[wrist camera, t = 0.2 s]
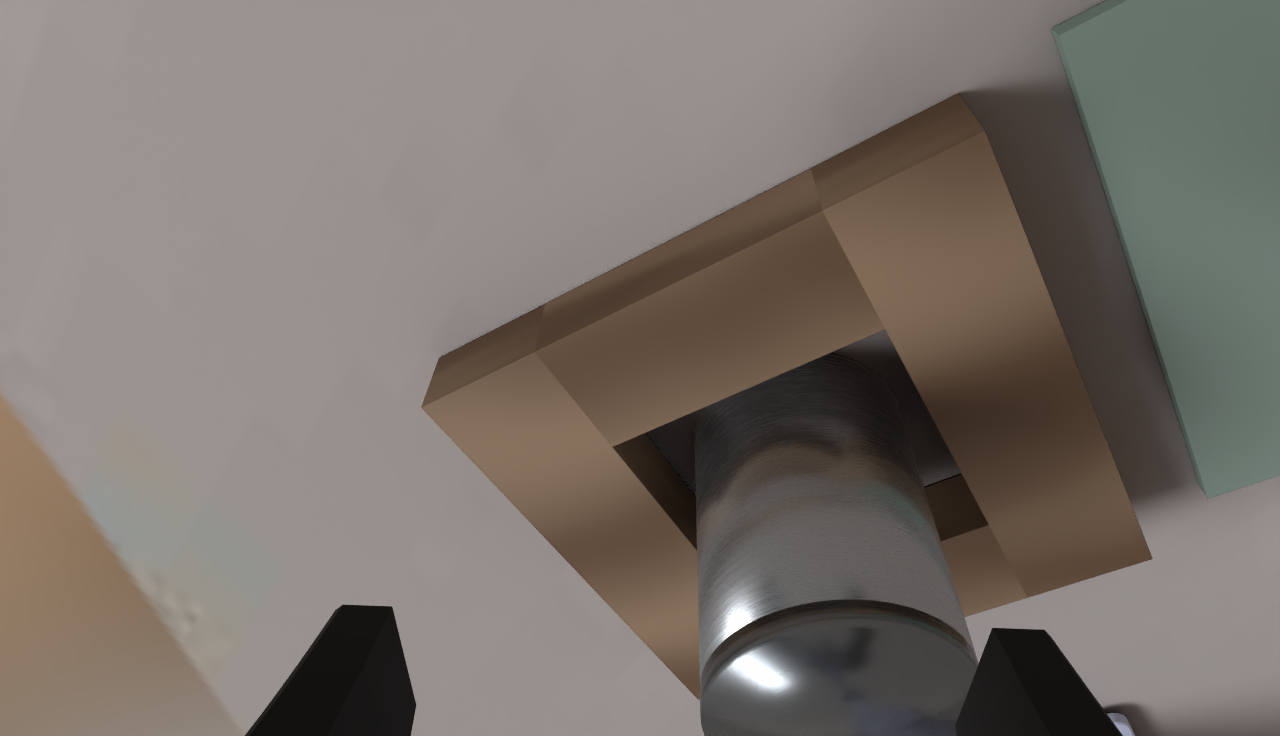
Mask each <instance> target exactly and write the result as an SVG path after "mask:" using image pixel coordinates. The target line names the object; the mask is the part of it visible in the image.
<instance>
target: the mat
mask: <svg viewBox="0 0 1280 736" xmlns="http://www.w3.org/2000/svg"><path fill="white" fill-rule="evenodd" d="M1052 31H1053V34H1054V37H1055V41H1056V44H1057V47H1058V50H1059V53H1060V56H1061V59H1062V62H1063V65H1064V68H1065V71H1066V74H1067V78H1068V81H1069V84H1070V87H1071V90H1072V93H1073V96H1074V99H1075V102H1076V105H1077V108H1078V111H1079V115H1080V118H1081V121H1082V124H1083V127H1084V130H1085V133H1086V136H1087V139H1088V142H1089V145H1090V148H1091V152H1092V155H1093V158H1094V161H1095V164H1096V167H1097V170H1098V173H1099V176H1100V179H1101V182H1102V186H1103V189H1104V192H1105V195H1106V198H1107V201H1108V204H1109V207H1110V210H1111V213H1112V216H1113V219H1114V223H1115V226H1116V229H1117V232H1118V235H1119V238H1120V241H1121V244H1122V247H1123V250H1124V253H1125V256H1126V260H1127V263H1128V266H1129V269H1130V272H1131V275H1132V278H1133V281H1134V284H1135V287H1136V290H1137V293H1138V297H1139V300H1140V303H1141V306H1142V309H1143V312H1144V315H1145V318H1146V321H1147V324H1148V327H1149V330H1150V334H1151V337H1152V340H1153V343H1154V346H1155V349H1156V352H1157V355H1158V358H1159V361H1160V364H1161V367H1162V371H1163V374H1164V377H1165V380H1166V383H1167V386H1168V389H1169V392H1170V395H1171V398H1172V401H1173V404H1174V408H1175V411H1176V414H1177V417H1178V420H1179V423H1180V426H1181V429H1182V432H1183V435H1184V438H1185V441H1186V445H1187V448H1188V451H1189V454H1190V457H1191V460H1192V463H1193V466H1194V469H1195V472H1196V475H1197V478H1198V482H1199V485H1200V487H1201V489H1202V491H1203V492H1204V494H1205V495H1206V497H1207V498H1212V497H1215V496H1218V495H1221V494H1224V493H1227V492H1230V491H1233V490H1236V489H1239V488H1242V487H1245V486H1248V485H1252V484H1255V483H1258V482H1261V481H1264V480H1267V479H1270V478H1273V477H1276V476H1279V475H1280V0H1106V1H1104V2H1102V3H1100V4H1098V5H1096V6H1094V7H1092V8H1090V9H1088V10H1087V11H1085V12H1083V13H1081V14H1079V15H1077V16H1075V17H1073V18H1071V19H1069V20H1067V21H1065V22H1063V23H1061V24H1059V25H1057V26H1056V27H1054V28H1052Z"/></svg>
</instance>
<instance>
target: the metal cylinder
mask: <svg viewBox="0 0 1280 736" xmlns="http://www.w3.org/2000/svg"><path fill="white" fill-rule="evenodd" d="M694 434H695V480H696V526H697V572H698V618H699V664H700V710H701V725H702V729H703V732H704V735H705V736H957V734H956V728H955V725H956V722H957V720H958V717H959V714H960V712H961V709H962V707H963V704H964V701H965V699H966V696H967V693H968V691H969V688H970V686H971V683H972V680H973V678H974V675H975V672H976V670H977V667H978V665H979V664H978V660H977V657H976V654H975V651H974V647H973V644H972V641H971V638H970V634H969V631H968V628H967V625H966V621H965V618H964V615H963V612H962V608H961V605H960V602H959V599H958V595H957V592H956V589H955V586H954V583H953V579H952V576H951V573H950V570H949V566H948V563H947V560H946V557H945V553H944V550H943V547H942V544H941V540H940V537H939V534H938V531H937V527H936V524H935V521H934V518H933V514H932V511H931V508H930V505H929V501H928V498H927V495H926V492H925V488H924V485H923V482H922V479H921V475H920V472H919V469H918V466H917V462H916V459H915V456H914V453H913V449H912V446H911V443H910V440H909V436H908V433H907V430H906V427H905V423H904V420H903V417H902V414H901V411H900V407H899V404H898V402H897V400H896V397H895V395H894V393H893V392H892V390H891V389H890V387H889V386H888V385H887V384H886V382H885V381H884V380H883V379H882V378H881V377H880V376H879V375H877V374H876V373H875V372H873V371H872V370H871V369H869V368H868V367H866V366H864V365H862V364H861V363H859V362H856V361H854V360H852V359H849V358H846V357H843V356H839V355H836V354H831V353H829V354H826V355H824V356H822V357H819V358H817V359H815V360H812V361H810V362H808V363H805V364H803V365H801V366H799V367H796V368H794V369H792V370H789V371H787V372H785V373H782V374H780V375H778V376H775V377H773V378H771V379H768V380H766V381H764V382H762V383H759V384H757V385H755V386H752V387H750V388H748V389H745V390H743V391H741V392H738V393H736V394H734V395H731V396H729V397H727V398H725V399H722V400H720V401H718V402H715V403H713V404H711V405H708V406H706V407H704V408H701V409H700V411H699V413H698V416H697V420H696V424H695V433H694Z"/></svg>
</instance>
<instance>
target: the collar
mask: <svg viewBox="0 0 1280 736" xmlns="http://www.w3.org/2000/svg"><path fill="white" fill-rule="evenodd" d="M884 329H885V330H886V332H887V333H888V335H889V337H890V339H891V341H892V343H893V345H894V347H895V349H896V350H897V352H898V354H899V356H900V358H901V360H902V362H903V364H904V366H905V367H906V369H907V371H908V373H909V375H910V377H911V379H912V381H913V383H914V384H915V386H916V388H917V390H918V392H919V394H920V396H921V398H922V400H923V401H924V403H925V405H926V407H927V409H928V411H929V413H930V415H931V417H932V418H933V420H934V422H935V424H936V426H937V428H938V430H939V432H940V434H941V435H942V437H943V439H944V441H945V443H946V445H947V447H948V449H949V451H950V452H951V454H952V456H953V458H954V460H955V462H956V464H957V466H958V468H959V469H960V471H961V473H962V474H961V475H959V476H956V477H953V478H950V479H948V480H945V481H942V482H939V483H937V484H934V485H931V486H928V487H926V488H925V492H926V495H927V498H928V501H929V505H930V508H931V511H932V514H933V518H934V521H935V524H936V527H937V531H938V534H939V537H940V540H941V544H942V547H943V550H944V553H945V557H946V560H947V563H948V566H949V570H950V573H951V576H952V579H953V583H954V586H955V589H956V592H957V595H958V599H959V602H960V605H961V608H962V612H963V615H964V617H967V616H970V615H973V614H976V613H980V612H983V611H986V610H989V609H992V608H996V607H999V606H1002V605H1005V604H1009V603H1012V602H1015V601H1018V600H1022V599H1025V598H1028V597H1031V596H1034V595H1038V594H1041V593H1044V592H1047V591H1051V590H1054V589H1057V588H1060V587H1063V586H1067V585H1070V584H1073V583H1076V582H1080V581H1083V580H1086V579H1089V578H1093V577H1096V576H1099V575H1102V574H1105V573H1109V572H1112V571H1115V570H1118V569H1122V568H1125V567H1128V566H1131V565H1134V564H1138V563H1141V562H1144V561H1147V560H1151V559H1153V558H1152V556H1151V553H1150V551H1149V548H1148V546H1147V543H1146V541H1145V538H1144V535H1143V533H1142V530H1141V528H1140V525H1139V523H1138V520H1137V518H1136V515H1135V512H1134V510H1133V507H1132V505H1131V502H1130V500H1129V497H1128V495H1127V492H1126V489H1125V487H1124V484H1123V482H1122V479H1121V477H1120V474H1119V472H1118V469H1117V466H1116V464H1115V461H1114V459H1113V456H1112V454H1111V451H1110V449H1109V446H1108V444H1107V441H1106V438H1105V436H1104V433H1103V431H1102V428H1101V426H1100V423H1099V421H1098V418H1097V415H1096V413H1095V410H1094V408H1093V405H1092V403H1091V400H1090V398H1089V395H1088V392H1087V390H1086V387H1085V385H1084V382H1083V380H1082V377H1081V375H1080V372H1079V369H1078V367H1077V364H1076V362H1075V359H1074V357H1073V354H1072V352H1071V349H1070V346H1069V344H1068V341H1067V339H1066V336H1065V334H1064V331H1063V329H1062V326H1061V323H1060V321H1059V318H1058V316H1057V313H1056V311H1055V308H1054V306H1053V303H1052V300H1051V298H1050V295H1049V293H1048V290H1047V288H1046V285H1045V283H1044V280H1043V277H1042V275H1041V272H1040V270H1039V267H1038V265H1037V262H1036V260H1035V257H1034V254H1033V252H1032V249H1031V247H1030V244H1029V242H1028V239H1027V237H1026V234H1025V231H1024V229H1023V226H1022V224H1021V221H1020V219H1019V216H1018V214H1017V211H1016V208H1015V206H1014V203H1013V201H1012V198H1011V196H1010V193H1009V191H1008V188H1007V185H1006V183H1005V180H1004V178H1003V175H1002V173H1001V170H1000V168H999V165H998V163H997V160H996V157H995V155H994V152H993V150H992V147H991V145H990V142H989V140H988V137H987V134H986V132H985V130H984V129H983V127H982V126H981V124H980V123H979V121H978V120H977V118H976V117H975V116H974V114H973V113H972V111H971V110H970V108H969V107H968V106H967V104H966V103H965V101H964V100H963V98H962V97H961V96H960V94H959V93H958V94H956V95H954V96H952V97H950V98H948V99H946V100H944V101H942V102H940V103H938V104H936V105H934V106H932V107H931V108H929V109H927V110H925V111H923V112H921V113H919V114H917V115H915V116H913V117H911V118H909V119H907V120H905V121H903V122H901V123H899V124H897V125H895V126H893V127H891V128H889V129H887V130H885V131H883V132H882V133H880V134H878V135H876V136H874V137H872V138H870V139H868V140H866V141H864V142H862V143H860V144H858V145H856V146H854V147H852V148H850V149H848V150H846V151H844V152H842V153H840V154H838V155H836V156H834V157H833V158H831V159H829V160H827V161H825V162H823V163H821V164H819V165H817V166H815V167H813V168H811V169H809V170H807V171H805V172H803V173H801V174H799V175H797V176H795V177H793V178H791V179H789V180H787V181H785V182H783V183H782V184H780V185H778V186H776V187H774V188H772V189H770V190H768V191H766V192H764V193H762V194H760V195H758V196H756V197H754V198H752V199H750V200H748V201H746V202H744V203H742V204H740V205H738V206H736V207H734V208H733V209H731V210H729V211H727V212H725V213H723V214H721V215H719V216H717V217H715V218H713V219H711V220H709V221H707V222H705V223H703V224H701V225H699V226H697V227H695V228H693V229H691V230H689V231H687V232H685V233H684V234H682V235H680V236H678V237H676V238H674V239H672V240H670V241H668V242H666V243H664V244H662V245H660V246H658V247H656V248H654V249H652V250H650V251H648V252H646V253H644V254H642V255H640V256H638V257H636V258H635V259H633V260H631V261H629V262H627V263H625V264H623V265H621V266H619V267H617V268H615V269H613V270H611V271H609V272H607V273H605V274H603V275H601V276H599V277H597V278H595V279H593V280H591V281H589V282H587V283H586V284H584V285H582V286H580V287H578V288H576V289H574V290H572V291H570V292H568V293H566V294H564V295H562V296H560V297H558V298H556V299H554V300H552V301H550V302H548V303H546V304H544V305H542V306H540V307H538V308H536V309H535V310H533V311H531V312H529V313H527V314H525V315H523V316H521V317H519V318H517V319H515V320H513V321H511V322H509V323H507V324H505V325H503V326H501V327H499V328H497V329H495V330H493V331H491V332H489V333H487V334H486V335H484V336H482V337H480V338H478V339H476V340H474V341H472V342H470V343H468V344H466V345H464V346H462V347H460V348H458V349H456V350H454V351H452V352H450V353H448V354H446V355H444V356H442V357H440V358H439V359H438V362H437V365H436V368H435V371H434V373H433V376H432V379H431V382H430V385H429V387H428V390H427V393H426V396H425V399H424V401H423V404H422V407H421V408H422V409H423V410H424V411H425V412H426V413H427V414H428V415H429V416H430V417H431V418H432V419H433V420H434V422H435V423H436V424H437V425H438V426H439V427H440V428H441V429H442V430H443V431H444V432H445V433H446V434H447V435H448V436H449V437H450V438H451V439H452V441H453V442H454V443H455V444H456V445H457V446H458V447H459V448H460V449H461V450H462V451H463V452H464V453H465V454H466V455H467V456H468V457H469V458H470V459H471V461H472V462H473V463H474V464H475V465H476V466H477V467H478V468H479V469H480V470H481V471H482V472H483V473H484V474H485V475H486V476H487V477H488V478H489V480H490V481H491V482H492V483H493V484H494V485H495V486H496V487H497V488H498V489H499V490H500V491H501V492H502V493H503V494H504V495H505V496H506V497H507V498H508V500H509V501H510V502H511V503H512V504H513V505H514V506H515V507H516V508H517V509H518V510H519V511H520V512H521V513H522V514H523V515H524V516H525V517H526V519H527V520H528V521H529V522H530V523H531V524H532V525H533V526H534V527H535V528H536V529H537V530H538V531H539V532H540V533H541V534H542V535H543V536H544V537H545V539H546V540H547V541H548V542H549V543H550V544H551V545H552V546H553V547H554V548H555V549H556V550H557V551H558V552H559V553H560V554H561V555H562V556H563V558H564V559H565V560H566V561H567V562H568V563H569V564H570V565H571V566H572V567H573V568H574V569H575V570H576V571H577V572H578V573H579V574H580V575H581V576H582V578H583V579H584V580H585V581H586V582H587V583H588V584H589V585H590V586H591V587H592V588H593V589H594V590H595V591H596V592H597V593H598V594H599V595H600V597H601V598H602V599H603V600H604V601H605V602H606V603H607V604H608V605H609V606H610V607H611V608H612V609H613V610H614V611H615V612H616V613H617V614H618V615H619V617H620V618H621V619H622V620H623V621H624V622H625V623H626V624H627V625H628V626H629V627H630V628H631V629H632V630H633V631H634V632H635V633H636V634H637V636H638V637H639V638H640V639H641V640H642V641H643V642H644V643H645V644H646V645H647V646H648V647H649V648H650V649H651V650H652V651H653V652H654V653H655V654H656V656H657V657H658V658H659V659H660V660H661V661H662V662H663V663H664V664H665V665H666V666H667V667H668V668H669V669H670V670H671V671H672V672H673V673H674V675H675V676H676V677H677V678H678V679H679V680H680V681H681V682H682V683H683V684H684V685H685V686H686V687H687V688H688V689H689V690H690V691H691V692H692V694H693V695H694V696H695V697H696V698H697V699H698V700H699V699H700V664H699V618H698V572H697V526H696V498H695V496H694V495H693V494H692V492H691V491H690V490H689V489H688V487H687V486H686V485H685V483H684V482H683V481H682V480H681V478H680V477H679V476H678V474H677V473H676V472H675V471H674V469H673V468H672V467H671V465H670V464H669V463H668V462H667V460H666V459H665V458H664V456H663V455H662V454H661V453H660V451H659V450H658V449H657V447H656V446H655V445H654V444H653V442H652V441H651V440H650V438H649V437H648V436H647V435H646V432H648V431H651V430H653V429H655V428H657V427H660V426H662V425H664V424H667V423H669V422H671V421H674V420H676V419H678V418H681V417H683V416H685V415H688V414H690V413H692V412H694V411H697V410H699V409H701V408H704V407H706V406H708V405H711V404H713V403H715V402H718V401H720V400H722V399H725V398H727V397H729V396H731V395H734V394H736V393H738V392H741V391H743V390H745V389H748V388H750V387H752V386H755V385H757V384H759V383H762V382H764V381H766V380H768V379H771V378H773V377H775V376H778V375H780V374H782V373H785V372H787V371H789V370H792V369H794V368H796V367H799V366H801V365H803V364H805V363H808V362H810V361H812V360H815V359H817V358H819V357H822V356H824V355H826V354H829V353H831V352H833V351H836V350H838V349H840V348H842V347H845V346H847V345H849V344H852V343H854V342H856V341H859V340H861V339H863V338H866V337H868V336H870V335H873V334H875V333H877V332H879V331H882V330H884Z"/></svg>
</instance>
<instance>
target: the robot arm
mask: <svg viewBox="0 0 1280 736" xmlns="http://www.w3.org/2000/svg"><path fill="white" fill-rule="evenodd" d="M415 709H416V702H415V698H414V694H413V690H412V686H411V682H410V678H409V674H408V670H407V666H406V661H405V657H404V653H403V649H402V645H401V641H400V637H399V633H398V629H397V625H396V620H395V616H394V612H393V608H392V607H390V606H362V605H342V606H340V607H339V608H338V609H337V610H335V612H334V613H333V615H332V616H331V617H330V619H329V620H328V622H327V623H326V625H325V626H324V628H323V629H322V631H321V632H320V634H319V635H318V636H317V638H316V639H315V641H314V642H313V644H312V645H311V646H310V648H309V649H308V651H307V652H306V654H305V655H304V656H303V658H302V659H301V661H300V662H299V664H298V665H297V666H296V668H295V669H294V671H293V672H292V673H291V675H290V676H289V677H288V679H287V680H286V682H285V683H284V684H283V686H282V687H281V688H280V690H279V691H278V692H277V694H276V695H275V697H274V698H273V699H272V701H271V702H270V703H269V705H268V706H267V707H266V709H265V710H264V711H263V713H262V714H261V715H260V717H259V718H258V719H257V721H256V722H255V723H254V725H253V726H252V727H251V728H250V730H249V731H248V732H247V734H246V735H245V736H411V731H412V725H413V720H414V714H415ZM955 728H956V734H957V736H1135V734H1134V732H1133V730H1132V728H1131V726H1130V724H1129V722H1128V720H1127V718H1126V717H1125V716H1124V715H1122V714H1119V713H1106V712H1105V711H1104V709H1103V708H1102V707H1101V705H1100V704H1099V703H1098V701H1097V700H1096V698H1095V697H1094V696H1093V694H1092V693H1091V692H1090V690H1089V689H1088V688H1087V686H1086V685H1085V683H1084V682H1083V681H1082V679H1081V678H1080V677H1079V675H1078V674H1077V672H1076V671H1075V670H1074V668H1073V667H1072V665H1071V664H1070V663H1069V661H1068V660H1067V659H1066V657H1065V656H1064V654H1063V653H1062V652H1061V650H1060V649H1059V647H1058V646H1057V645H1056V643H1055V642H1054V641H1053V639H1052V638H1051V636H1050V635H1049V634H1048V633H1047V632H1046V631H1045V630H1033V629H1005V628H992V630H991V633H990V636H989V638H988V641H987V644H986V646H985V649H984V651H983V654H982V657H981V659H980V662H979V665H978V667H977V670H976V672H975V675H974V678H973V680H972V683H971V686H970V688H969V691H968V693H967V696H966V699H965V701H964V704H963V707H962V709H961V712H960V714H959V717H958V720H957V722H956V725H955Z"/></svg>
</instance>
